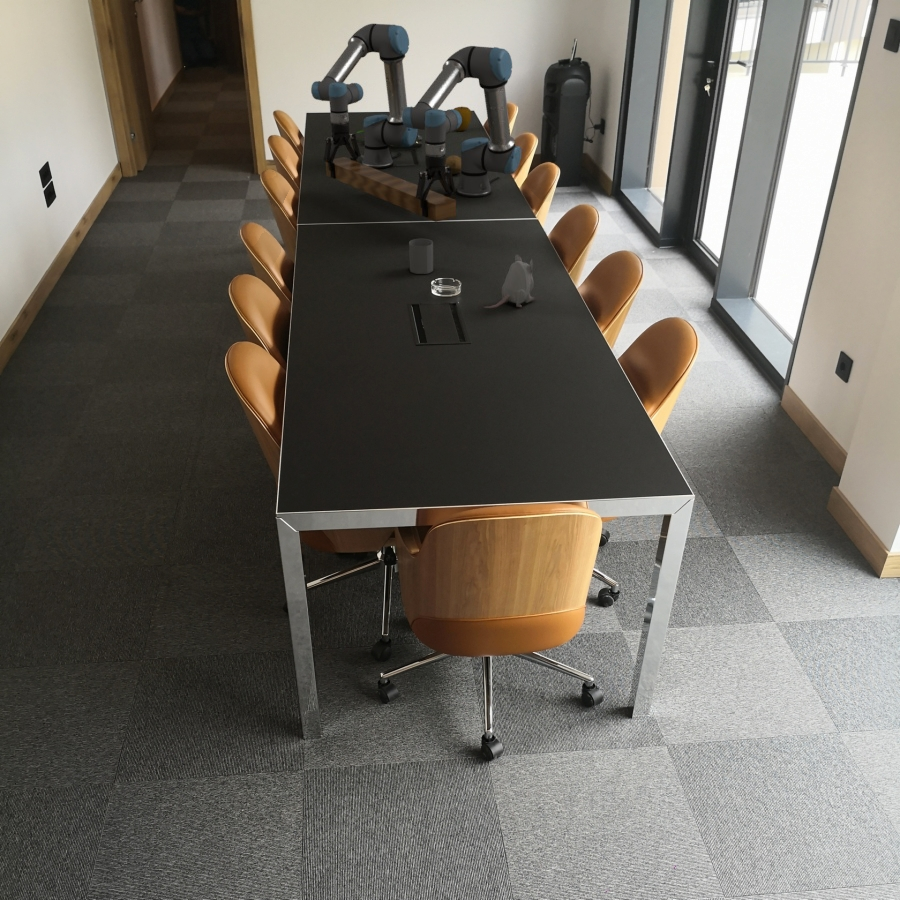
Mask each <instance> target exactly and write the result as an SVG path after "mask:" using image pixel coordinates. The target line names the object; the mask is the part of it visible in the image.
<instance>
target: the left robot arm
mask: <svg viewBox="0 0 900 900" xmlns="http://www.w3.org/2000/svg"><path fill="white" fill-rule="evenodd" d="M409 48H410V38H409V34H408V32H407V30H406V29H405V27H403V26H402V25H397V24H390V23H389V24H388V23H387V24H386V23H385V24H384V23H368V24H366V25H364V26H362V27H361V28H359V29H358V30H356V31H355V32H354V33H353V34H352V35H351V37H350V38H349V39H348V41H347V46H346V48H345V49H344V51H343V52H342V53H341V54H340V56H339V57H338V58H337V60H336V61H335V62H334V64H333V65H332V66H331V68H330V69H329V71H328V72H327V73H326V75H325V76H324V77H323V79H322V80H321V81H320V80H318V81H317V80H315V81H313V83H312V84H311V87H310V90H311V91H310V92H311V96H312V98H313V99H314V100H317V101H320V102H321V101H322V102H329V112H330V113H329V114H330V122H331V123H330V128H331V136H329V137H325V149H324V156H323V162H325V163H326V162H328V167H329V170H330V173H331V177H330V178H331V179H333V178H334V180H336V179H335V164H334V163H333V160H334V159H335V157H336V155H337V152H338V149H339V148H340V147H342V146H345V148H346V149H347V151H348V153H349V154H350V156H351V157H350V158H349V159H351V160H353V161H356V162H358V159H359V157H360V158H362V159H361V164H364V165H366V166H369V167H372V168H374V169H377V170H381V169H387V168H390V167H392V166H394V160H393V159H396V158H398V157H400V156H401V151H398V154H397V155H394V156H392V155H391V152H390V151H391V150H390V147H389V146H394V147H401V148H404V147H405V148H410V147H412V146H413V145H414V144H415V142H416V140H417V137H418V131H419V129H413V128H408V127H405V126H404V124H403V121H402V114H403V111H404V109H405V108H406V107H408V102H407V101H408V100H407V91H406V81H405V72H404V63H403V60H405V58H406V55H407V53H408V51H409ZM369 53H378V54H379V55H378V56H379V60H380V61H381V62H382V63H383V68H384V69H383V70H384V77H385V78H384V79H385V85H386V94H387V95H386V96H387V103H388V110H389V111H388V112H389V115H387V114H373V115H370V116H366V117H365V118H364V119H363V130H364V131H363V138H364V139H363V140H364V143H365V144H364V151H363V154H361V152H360V148H359V145H358V142H357V141H356V140H357V133H353V132H351V133H350V123H349V105H353V104H355V103H356V104H357V103H358V102H360V101H361V100H362V99H363V98H364V89H363V87H362V85H361V84H360V83H357V82H351V83H345V81H346V79H347V78H348V77H349V75H350V74H351V73H352V71H353V70H354V68H355V67H356V65H357V64H358V63H359V62H360V60H361V59H362V58H364V57H366V56H367V55H368V54H369ZM349 140H350V141H349ZM350 142H351V143H350Z"/></svg>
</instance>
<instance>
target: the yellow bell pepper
mask: <svg viewBox="0 0 900 900" xmlns="http://www.w3.org/2000/svg"><path fill="white" fill-rule="evenodd" d="M453 109H454V110H457V111H458V112H459V113H460V115H461V117H462V123H461V126H460V127H459V128H458V129H456V130H455V131H457V132H463V131H466V130H467V129H468V128H469V126H470V124H471V121H472V111H471V108H469V107H467V106H462V105H461V106H457V107H454V108H453Z"/></svg>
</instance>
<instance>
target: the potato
mask: <svg viewBox="0 0 900 900" xmlns="http://www.w3.org/2000/svg"><path fill="white" fill-rule="evenodd" d="M446 166H449V167H451V168H452V175H458V174H459V173H461V156H460V157H459V156H458V155H455V154H454V155H453V154H451V155H449V156H448V157H447V158H446V164H445V167H446Z"/></svg>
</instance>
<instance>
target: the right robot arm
mask: <svg viewBox="0 0 900 900" xmlns="http://www.w3.org/2000/svg"><path fill="white" fill-rule="evenodd" d="M441 69H442V70H441V71H440V72H439V74H438V76H437V77H436V78H435V79H434V80H433V82H432V83H431V84H430V86H429V87H428V88H427V90H426V91H425V92H424V94H423V95H422V96H421V98H420V99H419V100H418V101H417V103H416V104H415V105H414V106H407V107H406V108H405V109H404V111H403V114H402V121H403V124H404V126H405V127H408V128H413V129H418V130H424V135H425V136H424V138H425V139H424V152H425V154H426V155H425V159H424V160H425V163H424V164H425V170H424V171H419V172H418V182H417V185H418V187H417V193H416V198H417V199H420V206H421V208H422V216H421V217H423V216H424V218H426V219H428V218H427V217H428V200H426V198H427V195H428V193H429V190H431V187H432V185H433V184H434V182H436V181H439V183H440V185H441V186H442V188H443V191H444V192H445V193H443V195H444V196H447V197H449V198H452V196H453V195H454V193H455V192H456V193H457V194H458V195H459V196H463V197H466V198H481V197H482V198H483V197H486V196H489V195H490V194H491V193H492V186H491V184H492V183H493V182H494V181H496V180H498V179H500V176H496V177H495V178H493V179H491V180H489V177H488V172H494V173H501V174H504V175H505V174H507V175H508V174H510V175H512V174H514V173H516V172H517V170H518V168H519V166H520V163H521V159H522V148H521V147H520V145H519V146H518V145H516V141H515V139H514V137H513V136H511V128H510V119H509V109H508V101H507V94H506V93H507V92H506V85H507V84H508V82H509V80H510V78H511V77H512V72H513V70H512V69H513V61H512V56H511V54H510V53H509V51H508V50H507V49H505V48H500V47H497V46H494V47H491V46H490V47H489V46H477V45H469V46H468V45H467V46H465V47H462V48H460V49H458V50H457V51H455V52H454V53H453V54H451V55H450V56H449V57H448V58H447V59H446V60H445V62H444V63H443V64H442V68H441ZM468 78H469V79H476V80H477V79H478V83H479V87H480V88H481V89H483V94H484V102H485V110H486V117H487V123H488V132H489V138H487V137H483V136H482V137H472V138H467V139H465V140H464V141H462V143H461V147H460V158H461V172H460V177H459V180H458V183H457V185H456V186H457V187H456V186H455V182H454V178H453V174H452V168H451V167H449V166H446V167H445V164H446V159H447V158H446V157H447V156H446V135H448V134H450V133H453V132H456V131H457V130H456V129H458V128H459V127H460V126H461V123H462V117H461V115H460V113H459V112H458V111H457V110H454V108H451V109H446V110H443V109H439V108H440V107H441V106H442V105H443V103H444V102H445V101H446V99H447V98H448V97H449V95H450V94H451V93H452V91H453V90H454V88H455V87H456V86H457V85H458V84H460V83H462V82H463V81H464V80H465V79H468Z"/></svg>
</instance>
